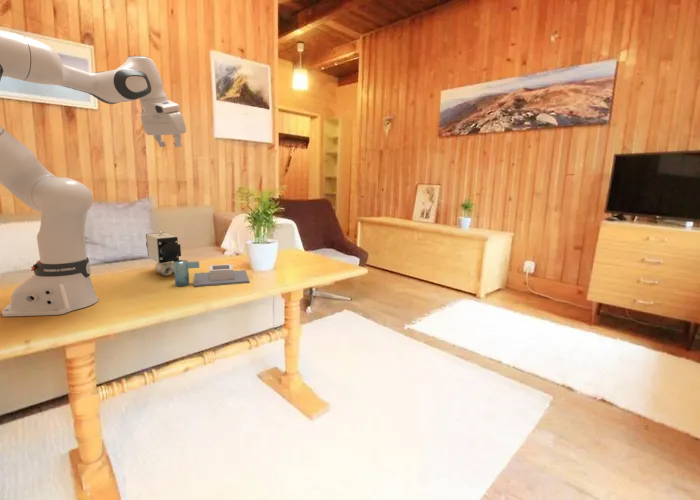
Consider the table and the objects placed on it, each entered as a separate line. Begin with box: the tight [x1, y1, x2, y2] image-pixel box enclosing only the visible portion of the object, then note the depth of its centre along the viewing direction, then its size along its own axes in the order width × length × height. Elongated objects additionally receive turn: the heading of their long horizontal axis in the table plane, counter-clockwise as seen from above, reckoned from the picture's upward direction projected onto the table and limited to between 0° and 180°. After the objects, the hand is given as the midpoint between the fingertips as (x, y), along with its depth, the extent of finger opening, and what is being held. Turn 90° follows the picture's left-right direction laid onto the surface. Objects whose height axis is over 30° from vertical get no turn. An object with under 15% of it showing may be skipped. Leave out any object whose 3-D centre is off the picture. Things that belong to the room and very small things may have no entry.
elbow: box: [173, 259, 200, 288], centre depth 133 cm, size 9×5×9 cm, turn 112°
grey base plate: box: [192, 263, 250, 288], centre depth 141 cm, size 20×16×5 cm
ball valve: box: [145, 230, 182, 277], centre depth 144 cm, size 18×8×18 cm, turn 46°
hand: (170, 146), depth 133 cm, fingers open, 8 cm apart
